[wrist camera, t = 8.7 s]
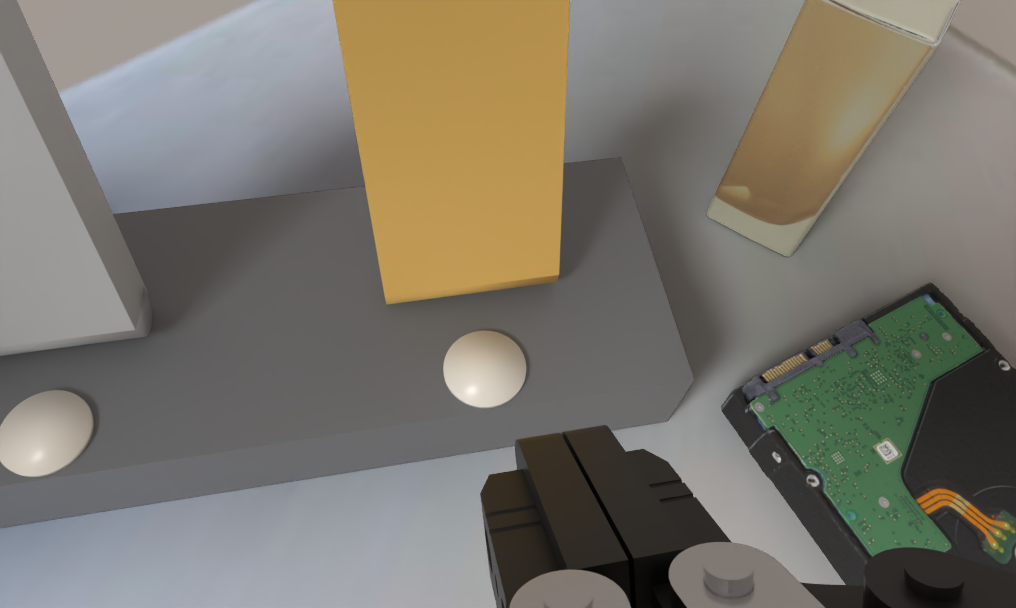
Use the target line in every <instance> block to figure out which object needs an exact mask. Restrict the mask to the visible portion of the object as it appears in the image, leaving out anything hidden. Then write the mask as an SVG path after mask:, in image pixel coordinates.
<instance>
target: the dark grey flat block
mask: <svg viewBox="0 0 1016 608" xmlns="http://www.w3.org/2000/svg"><path fill="white" fill-rule="evenodd" d="M113 216H114V218H115V220H116V222H117V225H118V227H119V229H120V231H121V234H122V236H123V238H124V240H125V242H126V245H127V247H128V249H129V251H130V254H131V256H132V258H133V260H134V262H135V265H136V267H137V269H138V271H139V274H140V276H141V278H142V280H143V282H144V285H145V287H146V289H147V295H148V297H149V300H150V304H151V310H152V327H151V331H150V333H149V335H148V336H146V337H140V338H132V339H125V340H117V341H110V342H102V343H95V344H87V345H80V346H72V347H64V348H57V349H49V350H42V351H34V352H27V353H19V354H12V355H4V356H0V528H4V527H10V526H16V525H22V524H29V523H35V522H41V521H47V520H54V519H60V518H66V517H72V516H79V515H85V514H91V513H98V512H104V511H110V510H116V509H123V508H129V507H135V506H141V505H148V504H154V503H160V502H166V501H173V500H179V499H185V498H191V497H198V496H204V495H210V494H216V493H223V492H229V491H235V490H241V489H248V488H254V487H260V486H266V485H273V484H279V483H285V482H292V481H298V480H304V479H310V478H317V477H323V476H329V475H335V474H342V473H348V472H354V471H360V470H367V469H373V468H379V467H385V466H392V465H398V464H404V463H410V462H417V461H423V460H429V459H435V458H442V457H448V456H454V455H460V454H467V453H473V452H479V451H486V450H492V449H498V448H504V447H511V446H515V440H516V439H522V438H528V437H534V436H540V435H546V434H553V433H562V432H564V431H570V430H577V429H583V428H589V427H595V426H601V425H607V426H608V427H609V429H610V430H617V429H623V428H629V427H636V426H642V425H648V424H654V423H661V422H667V421H668V420H669V418H670V416H671V415H672V413H673V412H674V410H675V409H676V407H677V406H678V404H679V403H680V401H681V400H682V398H683V397H684V395H685V393H686V392H687V390H688V389H689V387H690V386H691V384H692V383H693V381H694V377H693V374H692V371H691V368H690V365H689V362H688V359H687V356H686V353H685V350H684V347H683V344H682V341H681V338H680V335H679V332H678V329H677V326H676V323H675V320H674V317H673V314H672V311H671V308H670V305H669V302H668V299H667V296H666V293H665V290H664V286H663V283H662V280H661V277H660V274H659V271H658V268H657V265H656V262H655V259H654V256H653V253H652V250H651V247H650V244H649V241H648V238H647V235H646V232H645V229H644V226H643V223H642V220H641V217H640V214H639V211H638V208H637V205H636V202H635V199H634V196H633V193H632V190H631V187H630V184H629V181H628V178H627V175H626V172H625V169H624V165H623V162H622V159H621V157H618V158H610V159H601V160H592V161H583V162H574V163H565V164H563V189H562V214H561V240H560V265H559V275H558V280H557V282H554V283H547V284H539V285H531V286H524V287H516V288H509V289H501V290H494V291H486V292H479V293H471V294H464V295H456V296H449V297H441V298H434V299H426V300H418V301H411V302H403V303H396V304H388V305H387V304H386V300H385V296H384V290H383V284H382V278H381V273H380V267H379V261H378V256H377V250H376V244H375V239H374V233H373V227H372V222H371V216H370V210H369V205H368V199H367V193H366V188H365V186H360V187H351V188H343V189H334V190H325V191H316V192H307V193H298V194H289V195H280V196H271V197H262V198H254V199H245V200H236V201H227V202H218V203H209V204H200V205H191V206H182V207H173V208H165V209H156V210H147V211H138V212H129V213H120V214H113Z"/></svg>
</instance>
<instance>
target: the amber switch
mask: <svg viewBox="0 0 1016 608" xmlns="http://www.w3.org/2000/svg"><path fill="white" fill-rule="evenodd" d="M333 6H334V12H335V17H336V23H337V29H338V34H339V40H340V46H341V51H342V57H343V63H344V68H345V74H346V80H347V86H348V91H349V97H350V103H351V108H352V114H353V120H354V125H355V131H356V137H357V142H358V148H359V154H360V159H361V165H362V171H363V176H364V182H365V188H366V193H367V199H368V205H369V210H370V216H371V222H372V227H373V233H374V239H375V244H376V250H377V256H378V261H379V267H380V273H381V278H382V284H383V290H384V296H385V300H386V304H387V305H388V304H396V303H403V302H411V301H418V300H426V299H434V298H441V297H449V296H456V295H464V294H471V293H479V292H486V291H494V290H501V289H509V288H516V287H524V286H531V285H539V284H547V283H554V282H557V280H558V275H559V265H560V240H561V214H562V189H563V164H564V138H565V113H566V88H567V62H568V37H569V12H570V0H333Z"/></svg>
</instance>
